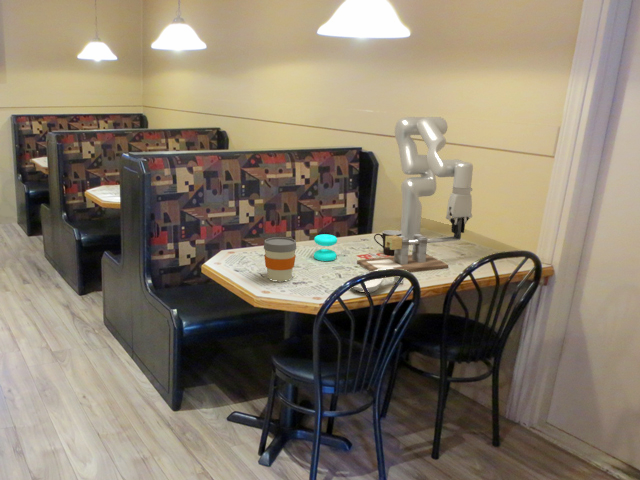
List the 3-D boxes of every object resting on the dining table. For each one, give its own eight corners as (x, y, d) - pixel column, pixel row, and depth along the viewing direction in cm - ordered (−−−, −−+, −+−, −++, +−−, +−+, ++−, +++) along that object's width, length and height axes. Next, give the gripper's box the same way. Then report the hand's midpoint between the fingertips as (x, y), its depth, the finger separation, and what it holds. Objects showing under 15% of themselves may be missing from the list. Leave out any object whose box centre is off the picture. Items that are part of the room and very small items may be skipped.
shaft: (395, 245, 248) (396, 221, 245) (457, 239, 260) (459, 217, 258) (398, 246, 245) (400, 223, 242) (461, 240, 258) (463, 218, 255)
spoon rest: (363, 298, 211) (364, 279, 209) (342, 289, 220) (343, 271, 218) (409, 286, 225) (411, 268, 223) (388, 278, 234) (389, 261, 232)
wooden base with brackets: (357, 263, 251) (358, 235, 248) (424, 256, 265) (426, 229, 261) (377, 276, 235) (379, 246, 232) (448, 268, 249) (450, 239, 246)
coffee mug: (403, 254, 268) (405, 232, 265) (392, 257, 261) (394, 235, 259) (383, 248, 275) (384, 228, 273) (371, 252, 269) (373, 230, 266)
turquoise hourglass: (310, 235, 256) (329, 232, 261) (309, 257, 258) (328, 254, 263) (321, 240, 248) (341, 237, 253) (321, 263, 250) (340, 260, 255)
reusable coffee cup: (301, 280, 227) (302, 243, 223) (273, 285, 221) (273, 247, 217) (285, 271, 237) (286, 235, 233) (257, 276, 231) (258, 239, 227)
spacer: (385, 246, 247) (385, 236, 246) (395, 245, 249) (395, 235, 248) (391, 249, 243) (391, 239, 241) (401, 248, 244) (402, 238, 243)
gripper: (471, 188, 259) (467, 229, 264) (440, 190, 253) (437, 231, 258) (482, 191, 253) (478, 233, 257) (450, 193, 246) (447, 236, 251)
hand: (457, 232), depth 258 cm, fingers closed on shaft, 3 cm apart
